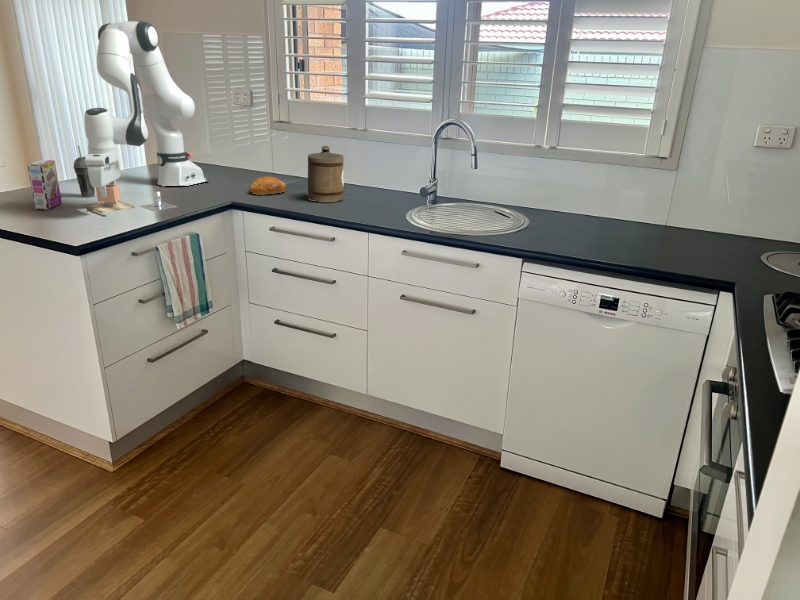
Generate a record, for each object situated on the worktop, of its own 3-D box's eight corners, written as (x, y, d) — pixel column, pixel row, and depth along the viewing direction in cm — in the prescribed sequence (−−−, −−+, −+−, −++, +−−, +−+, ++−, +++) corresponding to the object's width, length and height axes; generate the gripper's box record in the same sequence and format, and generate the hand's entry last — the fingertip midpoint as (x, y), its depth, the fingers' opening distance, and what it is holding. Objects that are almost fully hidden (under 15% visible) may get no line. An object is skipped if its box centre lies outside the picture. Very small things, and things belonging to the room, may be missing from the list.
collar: (104, 198, 219) (102, 184, 217) (121, 198, 220) (119, 184, 218) (97, 201, 214) (95, 187, 212) (115, 202, 214) (113, 188, 212)
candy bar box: (49, 210, 216) (41, 164, 210) (35, 210, 216) (26, 164, 210) (63, 203, 226) (55, 159, 220) (49, 203, 226) (41, 159, 220)
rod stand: (164, 205, 228) (162, 187, 226) (178, 210, 223) (176, 192, 220) (139, 210, 221) (136, 191, 219) (153, 215, 215) (151, 195, 213)
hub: (119, 205, 226) (116, 183, 223) (135, 211, 219) (132, 188, 216) (87, 210, 217) (83, 187, 214) (103, 216, 211) (99, 193, 207)
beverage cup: (102, 194, 242) (94, 144, 234) (91, 198, 235) (83, 147, 228) (85, 193, 242) (77, 143, 235) (74, 197, 236) (65, 146, 228)
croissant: (288, 200, 256) (290, 181, 253) (252, 197, 249) (254, 178, 246) (280, 192, 268) (281, 174, 265) (245, 189, 261) (246, 171, 258)
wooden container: (350, 200, 250) (351, 146, 242) (323, 204, 240) (323, 149, 232) (327, 194, 260) (327, 142, 251) (300, 198, 249) (299, 144, 241)
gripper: (104, 151, 220) (109, 189, 225) (82, 160, 201) (88, 201, 206) (122, 152, 221) (127, 189, 226) (101, 161, 202) (107, 201, 207)
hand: (108, 195), depth 216 cm, fingers closed on collar, 6 cm apart
